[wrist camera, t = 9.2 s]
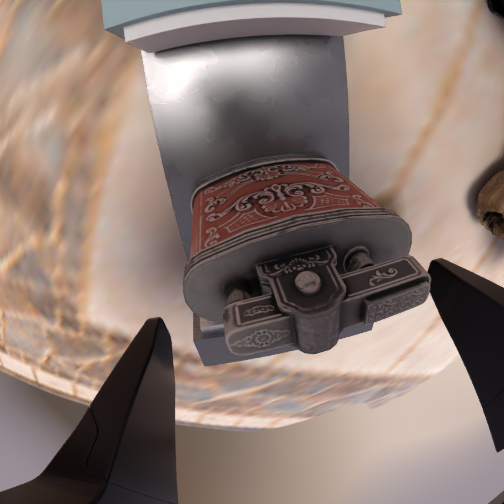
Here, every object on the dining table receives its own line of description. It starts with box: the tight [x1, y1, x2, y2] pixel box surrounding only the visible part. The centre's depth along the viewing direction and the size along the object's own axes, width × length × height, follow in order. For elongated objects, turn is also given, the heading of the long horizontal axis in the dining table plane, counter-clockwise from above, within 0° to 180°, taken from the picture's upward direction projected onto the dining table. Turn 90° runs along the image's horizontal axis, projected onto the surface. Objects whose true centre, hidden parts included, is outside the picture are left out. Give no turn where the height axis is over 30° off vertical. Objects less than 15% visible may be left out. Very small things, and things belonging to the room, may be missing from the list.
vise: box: [141, 34, 373, 366], centre depth 11 cm, size 10×26×6 cm, turn 7°
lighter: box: [183, 154, 431, 356], centre depth 11 cm, size 8×3×10 cm, turn 101°
